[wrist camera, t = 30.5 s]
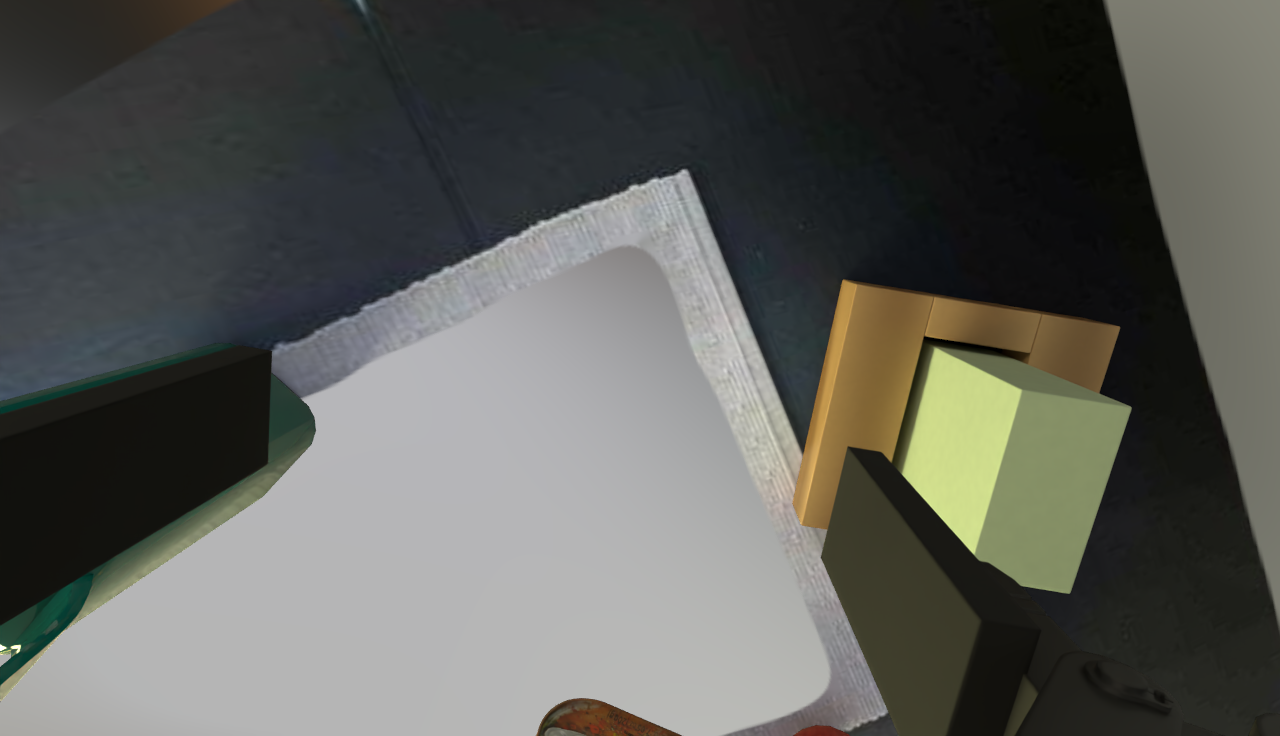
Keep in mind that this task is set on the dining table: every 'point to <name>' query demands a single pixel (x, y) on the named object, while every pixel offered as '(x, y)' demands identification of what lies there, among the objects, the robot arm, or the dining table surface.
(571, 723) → the tin
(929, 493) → the pale green block
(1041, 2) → the dining table surface
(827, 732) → the onion
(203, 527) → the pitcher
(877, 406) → the mount block
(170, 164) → the dining table surface
